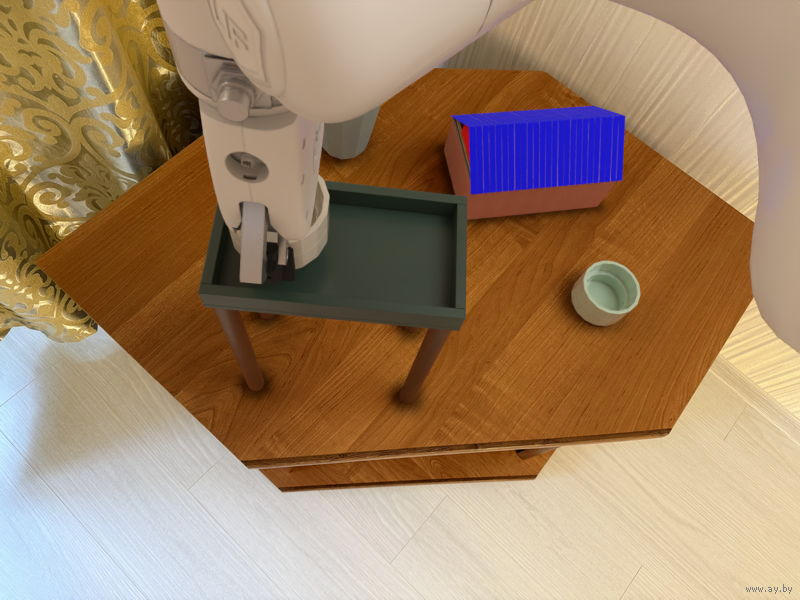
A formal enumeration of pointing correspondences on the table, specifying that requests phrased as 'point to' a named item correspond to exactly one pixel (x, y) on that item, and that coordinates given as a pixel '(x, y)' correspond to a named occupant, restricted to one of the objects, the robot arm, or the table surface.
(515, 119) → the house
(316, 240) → the dish
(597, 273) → the dish
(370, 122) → the disposable coffee cup
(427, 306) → the tray
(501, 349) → the table surface
